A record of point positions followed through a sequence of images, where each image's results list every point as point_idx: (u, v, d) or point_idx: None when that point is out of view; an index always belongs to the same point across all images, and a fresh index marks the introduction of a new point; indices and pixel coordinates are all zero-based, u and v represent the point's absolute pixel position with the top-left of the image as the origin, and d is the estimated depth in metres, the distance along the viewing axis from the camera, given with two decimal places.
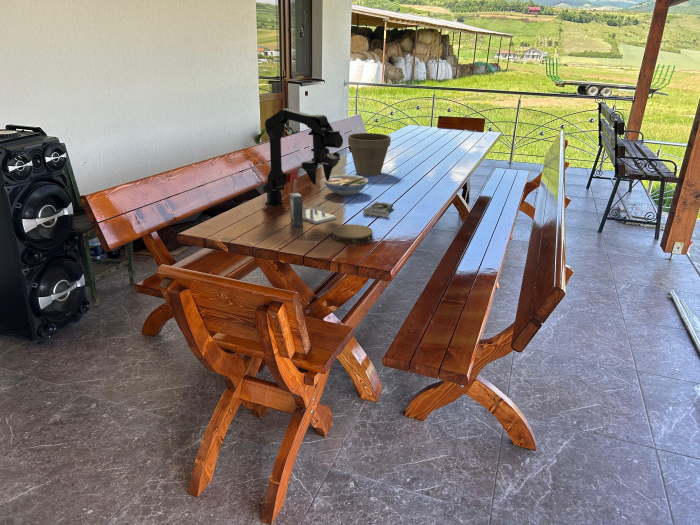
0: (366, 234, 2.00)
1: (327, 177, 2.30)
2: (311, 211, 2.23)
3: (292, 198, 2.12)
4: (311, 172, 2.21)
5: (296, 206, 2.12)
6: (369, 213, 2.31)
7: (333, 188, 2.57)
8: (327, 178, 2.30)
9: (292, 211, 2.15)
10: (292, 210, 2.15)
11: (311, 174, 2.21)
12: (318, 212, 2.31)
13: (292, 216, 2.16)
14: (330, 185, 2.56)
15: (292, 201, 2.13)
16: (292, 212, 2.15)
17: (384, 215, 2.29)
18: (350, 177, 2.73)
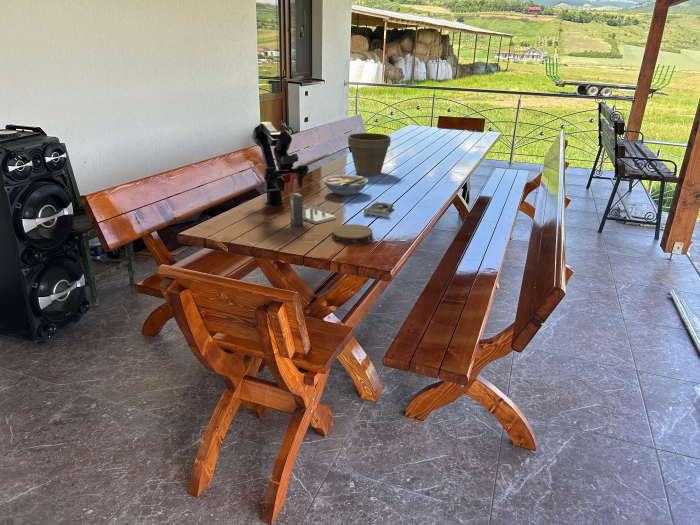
0: (366, 234, 2.00)
1: (300, 185, 2.22)
2: (311, 211, 2.23)
3: (292, 198, 2.12)
4: (274, 180, 2.20)
5: (296, 206, 2.12)
6: (369, 213, 2.31)
7: (333, 188, 2.57)
8: (300, 186, 2.22)
9: (292, 211, 2.15)
10: (292, 210, 2.15)
11: (274, 181, 2.20)
12: (318, 212, 2.31)
13: (292, 216, 2.16)
14: (330, 185, 2.56)
15: (292, 201, 2.13)
16: (292, 212, 2.15)
17: (384, 215, 2.29)
18: (350, 177, 2.73)
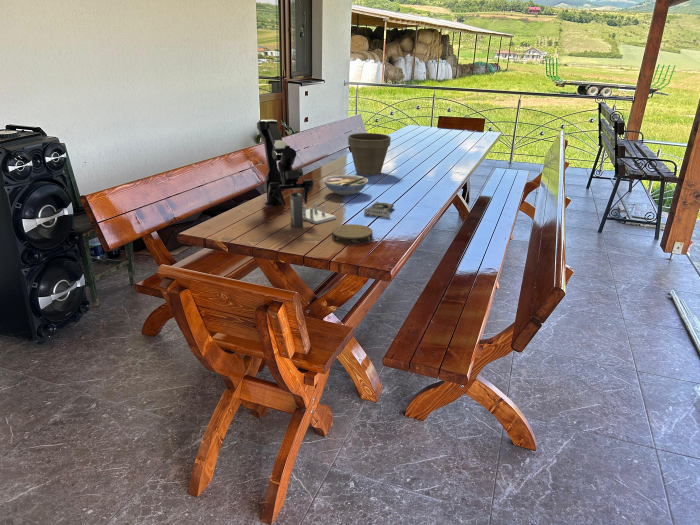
0: (366, 234, 2.00)
1: (305, 200, 2.18)
2: (311, 211, 2.23)
3: (293, 198, 2.12)
4: (278, 195, 2.16)
5: (296, 206, 2.12)
6: (370, 213, 2.31)
7: (333, 188, 2.57)
8: (305, 201, 2.18)
9: (292, 211, 2.15)
10: (292, 210, 2.15)
11: (279, 197, 2.15)
12: (318, 212, 2.31)
13: (292, 216, 2.16)
14: (330, 185, 2.56)
15: (292, 201, 2.13)
16: (292, 212, 2.15)
17: (385, 215, 2.29)
18: (350, 177, 2.73)
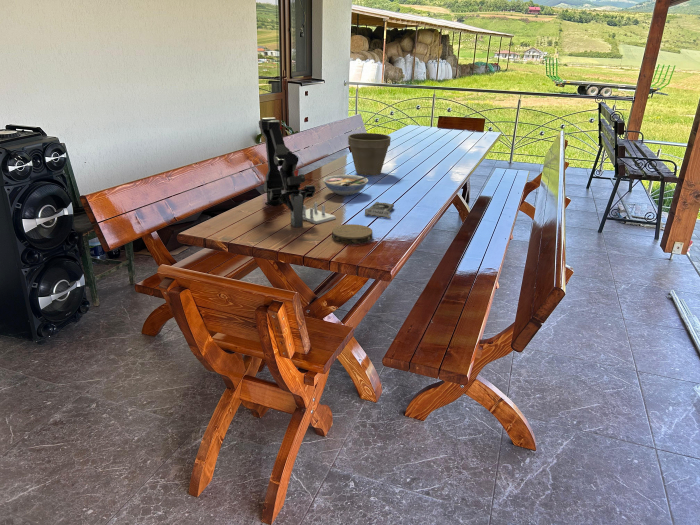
0: (366, 234, 2.00)
1: None
2: (311, 211, 2.23)
3: (293, 198, 2.12)
4: (286, 200, 2.15)
5: (296, 206, 2.12)
6: (370, 213, 2.31)
7: (333, 188, 2.57)
8: None
9: None
10: None
11: (287, 202, 2.15)
12: (318, 212, 2.31)
13: (292, 216, 2.16)
14: (330, 185, 2.56)
15: (292, 201, 2.13)
16: (292, 212, 2.15)
17: (386, 215, 2.29)
18: (350, 177, 2.73)
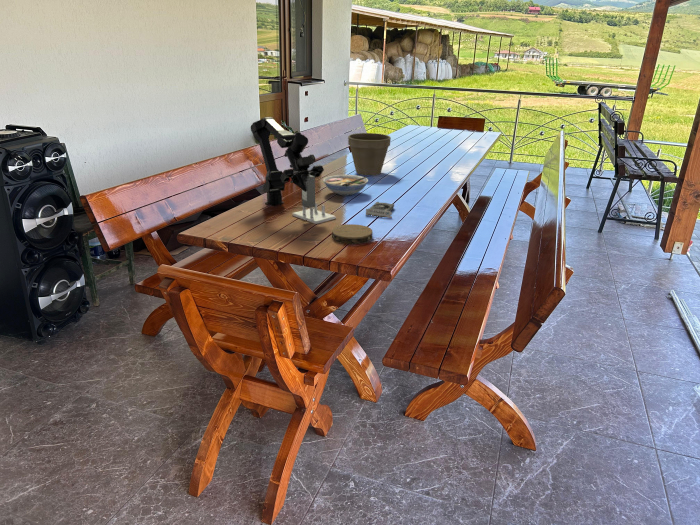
0: (366, 234, 2.00)
1: None
2: (311, 211, 2.23)
3: (306, 179, 2.16)
4: (298, 181, 2.19)
5: (309, 187, 2.17)
6: (372, 213, 2.31)
7: (333, 188, 2.57)
8: None
9: (305, 192, 2.19)
10: None
11: (298, 182, 2.18)
12: (318, 212, 2.31)
13: (304, 197, 2.20)
14: (330, 185, 2.56)
15: (305, 182, 2.17)
16: (305, 193, 2.19)
17: (387, 215, 2.29)
18: (350, 177, 2.73)
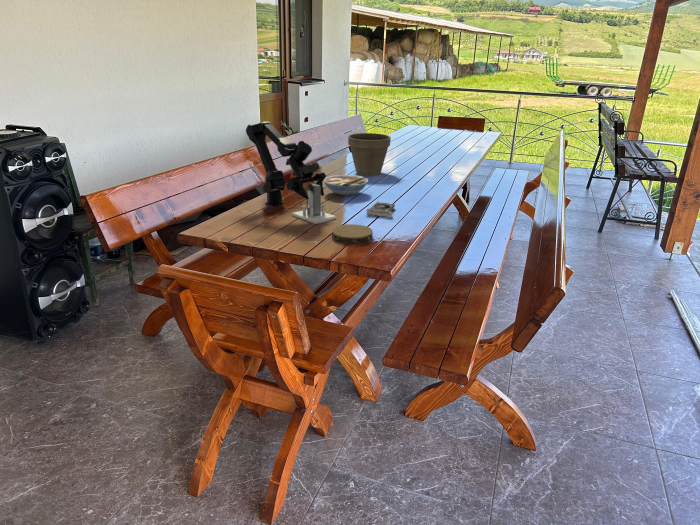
0: (366, 234, 2.00)
1: (321, 192, 2.27)
2: (311, 211, 2.23)
3: (312, 189, 2.22)
4: (299, 189, 2.22)
5: (316, 196, 2.23)
6: (372, 213, 2.31)
7: (333, 188, 2.57)
8: (322, 193, 2.27)
9: (311, 201, 2.24)
10: (311, 200, 2.24)
11: (300, 191, 2.22)
12: None
13: (310, 206, 2.25)
14: (330, 185, 2.56)
15: (311, 191, 2.23)
16: (311, 202, 2.25)
17: (388, 215, 2.29)
18: (350, 177, 2.73)
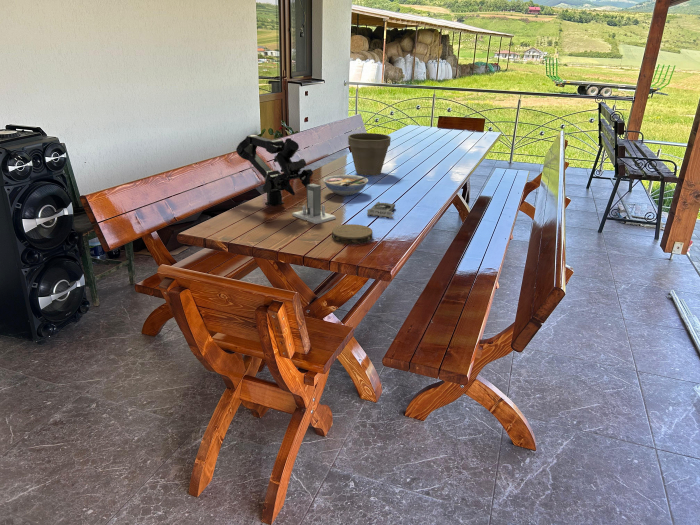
0: (366, 234, 2.00)
1: None
2: (311, 211, 2.23)
3: (312, 189, 2.22)
4: (286, 185, 2.28)
5: (316, 196, 2.23)
6: (373, 214, 2.31)
7: (333, 188, 2.57)
8: None
9: (311, 201, 2.24)
10: (311, 200, 2.24)
11: (286, 187, 2.28)
12: None
13: (310, 206, 2.25)
14: (330, 185, 2.56)
15: (311, 191, 2.23)
16: (311, 202, 2.25)
17: (388, 215, 2.29)
18: (350, 177, 2.73)
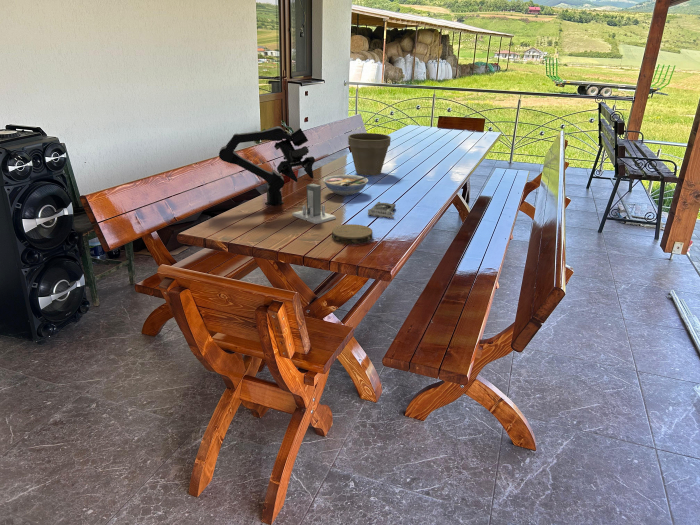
0: (366, 234, 2.00)
1: (311, 175, 2.38)
2: (311, 211, 2.23)
3: (312, 189, 2.22)
4: (289, 172, 2.32)
5: (316, 196, 2.23)
6: (374, 214, 2.31)
7: (333, 188, 2.57)
8: (311, 176, 2.38)
9: (311, 201, 2.24)
10: (311, 200, 2.24)
11: (289, 174, 2.32)
12: None
13: (310, 206, 2.25)
14: (330, 185, 2.56)
15: (311, 191, 2.23)
16: (311, 202, 2.25)
17: (389, 215, 2.29)
18: (350, 177, 2.73)
